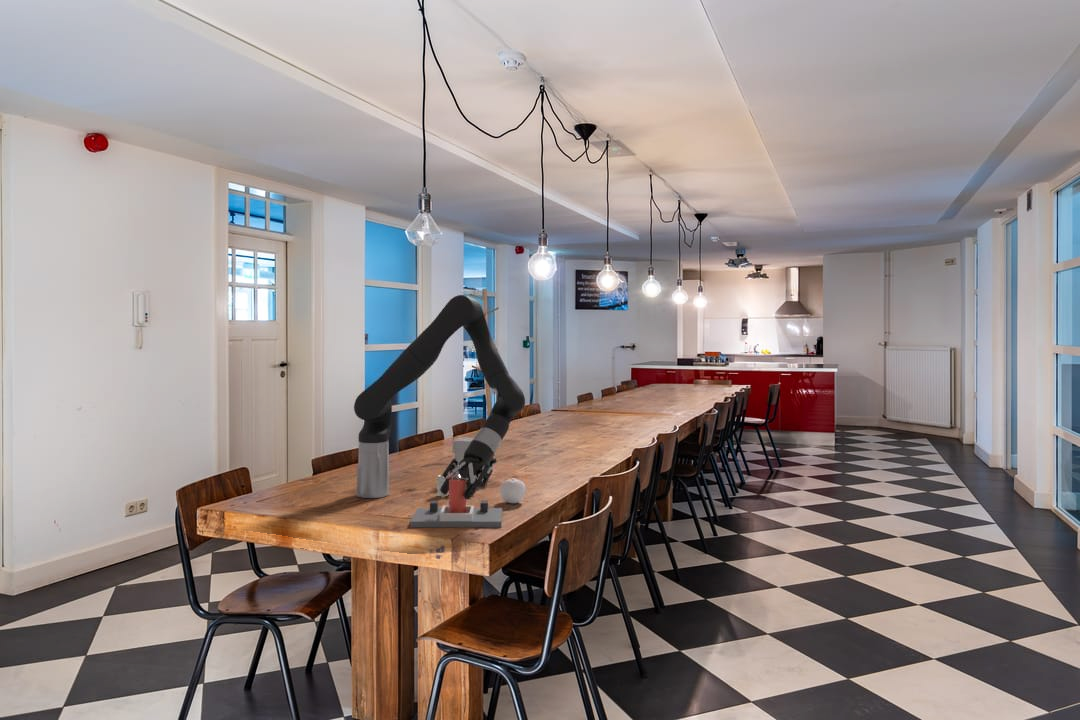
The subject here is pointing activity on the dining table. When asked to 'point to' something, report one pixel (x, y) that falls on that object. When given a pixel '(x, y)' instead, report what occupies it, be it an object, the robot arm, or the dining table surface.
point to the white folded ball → (512, 490)
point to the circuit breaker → (460, 448)
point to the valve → (440, 482)
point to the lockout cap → (457, 495)
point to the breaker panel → (457, 516)
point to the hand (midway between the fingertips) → (453, 495)
